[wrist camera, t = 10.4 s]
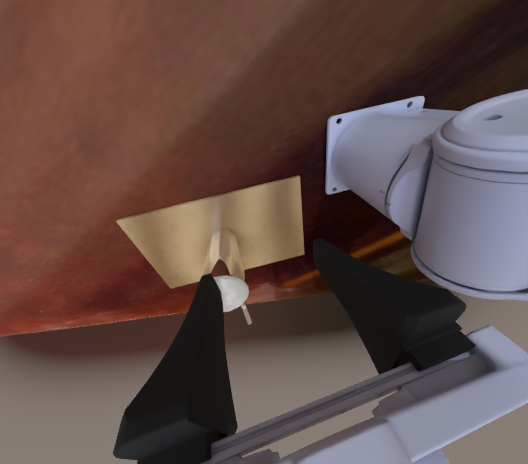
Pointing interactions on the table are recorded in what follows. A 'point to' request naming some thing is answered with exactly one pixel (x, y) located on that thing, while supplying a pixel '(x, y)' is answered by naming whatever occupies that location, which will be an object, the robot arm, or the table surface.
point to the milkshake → (227, 270)
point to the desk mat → (221, 217)
